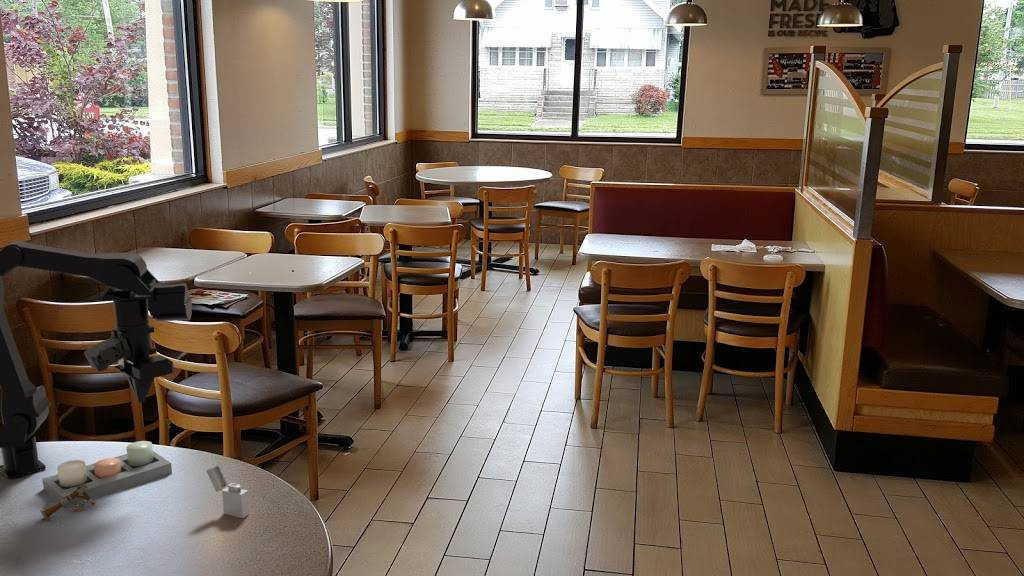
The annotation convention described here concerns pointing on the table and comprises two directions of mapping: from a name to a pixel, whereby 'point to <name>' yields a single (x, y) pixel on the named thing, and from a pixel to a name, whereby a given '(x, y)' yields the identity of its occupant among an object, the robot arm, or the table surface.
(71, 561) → the table surface
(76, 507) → the wooden post with brackets
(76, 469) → the cream button
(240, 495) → the lighter
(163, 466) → the button panel
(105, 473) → the terracotta button
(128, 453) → the sage button
